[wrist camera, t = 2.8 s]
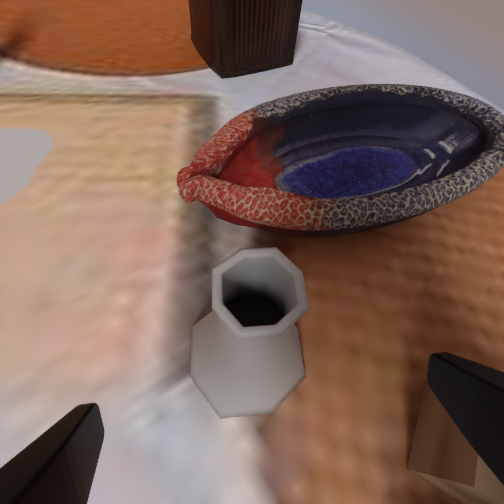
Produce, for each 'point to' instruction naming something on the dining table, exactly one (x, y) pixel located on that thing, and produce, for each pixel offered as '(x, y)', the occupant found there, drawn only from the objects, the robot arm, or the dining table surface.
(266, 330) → the flask
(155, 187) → the dining table surface
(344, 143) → the dish
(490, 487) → the walnut block
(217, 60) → the brown potted plant
